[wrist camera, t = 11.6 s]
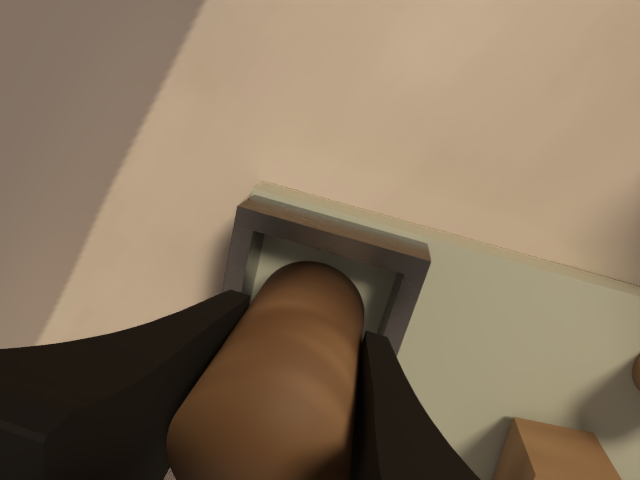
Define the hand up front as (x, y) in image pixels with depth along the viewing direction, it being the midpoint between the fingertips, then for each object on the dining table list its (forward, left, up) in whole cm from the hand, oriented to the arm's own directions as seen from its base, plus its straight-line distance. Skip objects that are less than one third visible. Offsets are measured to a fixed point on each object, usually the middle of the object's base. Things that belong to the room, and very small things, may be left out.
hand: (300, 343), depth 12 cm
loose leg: (0, 0, -2) cm, 2 cm away
